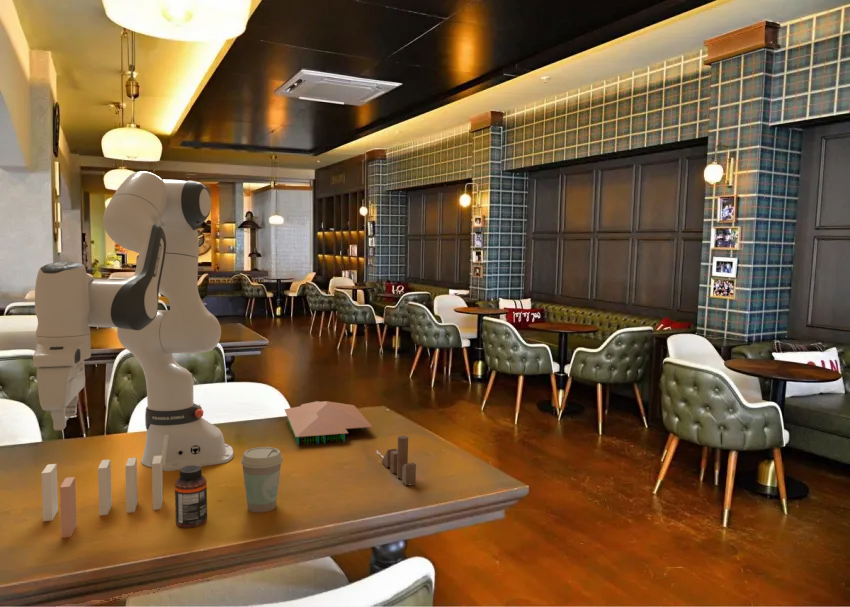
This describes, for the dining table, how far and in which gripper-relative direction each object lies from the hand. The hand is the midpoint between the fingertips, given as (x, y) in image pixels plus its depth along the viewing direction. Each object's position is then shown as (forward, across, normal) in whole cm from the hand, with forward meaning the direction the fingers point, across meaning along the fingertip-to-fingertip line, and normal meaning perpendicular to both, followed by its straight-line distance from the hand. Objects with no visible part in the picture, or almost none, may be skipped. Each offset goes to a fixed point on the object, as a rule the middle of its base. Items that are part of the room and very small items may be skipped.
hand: (65, 422), depth 117 cm
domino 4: (+22, -9, +15) cm, 28 cm away
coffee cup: (+22, -2, +36) cm, 42 cm away
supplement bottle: (+22, +2, +22) cm, 31 cm away
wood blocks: (+22, -17, +69) cm, 75 cm away
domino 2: (+22, -9, +5) cm, 24 cm away
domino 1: (+22, 0, 0) cm, 22 cm away
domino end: (+22, -9, -5) cm, 24 cm away
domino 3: (+22, -9, +10) cm, 26 cm away
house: (+22, -57, +60) cm, 86 cm away
